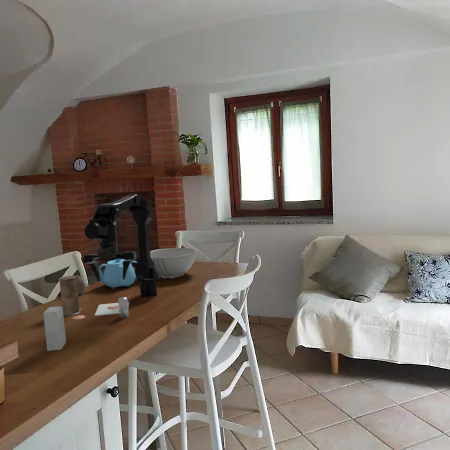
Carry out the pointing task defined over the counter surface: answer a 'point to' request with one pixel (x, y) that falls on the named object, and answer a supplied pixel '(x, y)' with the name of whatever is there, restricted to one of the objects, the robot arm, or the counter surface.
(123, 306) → the pin
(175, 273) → the decorative bowl
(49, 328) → the skincare box
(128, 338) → the counter surface
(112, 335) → the counter surface
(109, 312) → the board
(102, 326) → the counter surface
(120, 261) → the decorative pot
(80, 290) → the vase
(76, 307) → the tan tall block
